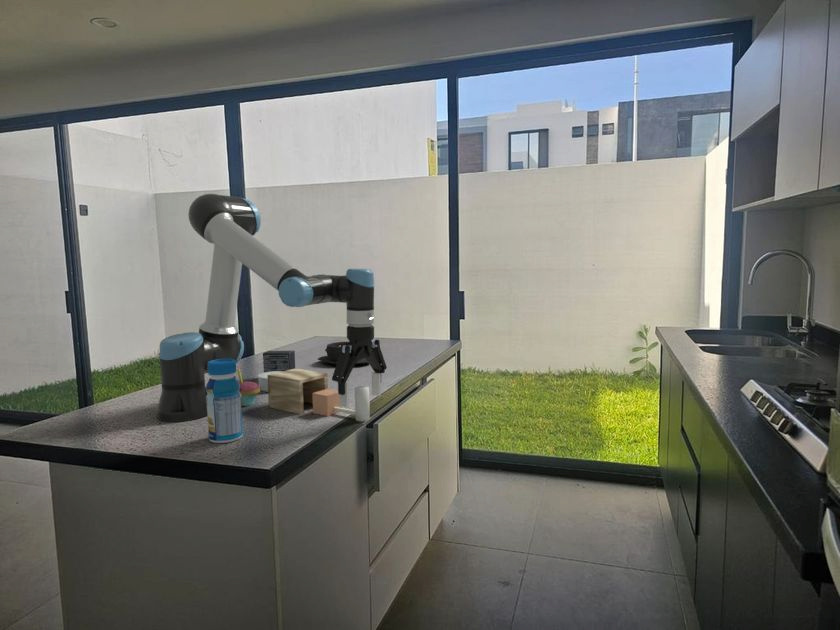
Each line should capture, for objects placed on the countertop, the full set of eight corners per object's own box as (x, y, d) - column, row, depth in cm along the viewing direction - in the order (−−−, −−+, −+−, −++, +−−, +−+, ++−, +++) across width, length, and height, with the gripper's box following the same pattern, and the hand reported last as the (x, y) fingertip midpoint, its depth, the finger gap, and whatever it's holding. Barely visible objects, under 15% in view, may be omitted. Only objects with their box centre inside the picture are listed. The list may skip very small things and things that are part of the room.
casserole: (381, 361, 237) (381, 342, 236) (357, 370, 221) (357, 349, 220) (334, 357, 248) (333, 339, 248) (308, 365, 232) (307, 345, 231)
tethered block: (361, 423, 150) (360, 391, 149) (313, 413, 160) (311, 383, 159) (375, 417, 155) (374, 386, 154) (327, 408, 165) (326, 379, 164)
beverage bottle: (230, 445, 133) (226, 364, 131) (200, 442, 136) (196, 363, 134) (250, 434, 142) (246, 358, 139) (221, 432, 144) (217, 357, 142)
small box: (296, 377, 209) (295, 349, 208) (291, 380, 203) (289, 353, 202) (269, 376, 210) (268, 349, 209) (263, 380, 204) (262, 352, 203)
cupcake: (231, 408, 166) (229, 369, 165) (232, 401, 174) (230, 364, 173) (260, 406, 168) (258, 368, 167) (260, 399, 177) (259, 362, 175)
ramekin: (279, 394, 184) (279, 378, 183) (251, 392, 187) (250, 376, 186) (297, 386, 194) (296, 371, 194) (270, 384, 198) (269, 370, 197)
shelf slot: (300, 414, 159) (299, 380, 158) (268, 407, 167) (267, 375, 166) (328, 405, 169) (327, 373, 167) (296, 398, 177) (295, 368, 175)
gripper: (339, 331, 138) (339, 413, 140) (398, 321, 158) (398, 393, 161) (317, 328, 142) (318, 408, 145) (378, 319, 163) (378, 389, 165)
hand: (360, 400), depth 153 cm, fingers open, 13 cm apart
